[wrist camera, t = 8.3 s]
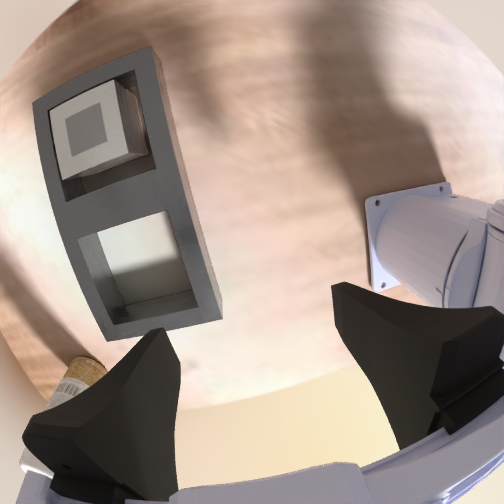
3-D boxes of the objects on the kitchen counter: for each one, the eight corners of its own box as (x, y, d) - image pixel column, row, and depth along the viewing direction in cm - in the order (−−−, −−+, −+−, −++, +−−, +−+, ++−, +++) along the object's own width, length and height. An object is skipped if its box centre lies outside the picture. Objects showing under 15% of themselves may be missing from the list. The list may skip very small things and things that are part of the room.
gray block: (135, 95, 16) (113, 79, 12) (148, 154, 17) (128, 152, 13) (81, 118, 16) (49, 110, 12) (93, 174, 17) (62, 180, 13)
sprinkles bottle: (72, 379, 23) (27, 479, 10) (70, 348, 21) (9, 455, 9) (111, 394, 23) (78, 503, 11) (112, 363, 22) (68, 484, 10)
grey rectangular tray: (160, 61, 15) (151, 46, 12) (221, 298, 21) (222, 318, 18) (53, 107, 15) (32, 102, 12) (118, 321, 21) (107, 341, 18)
